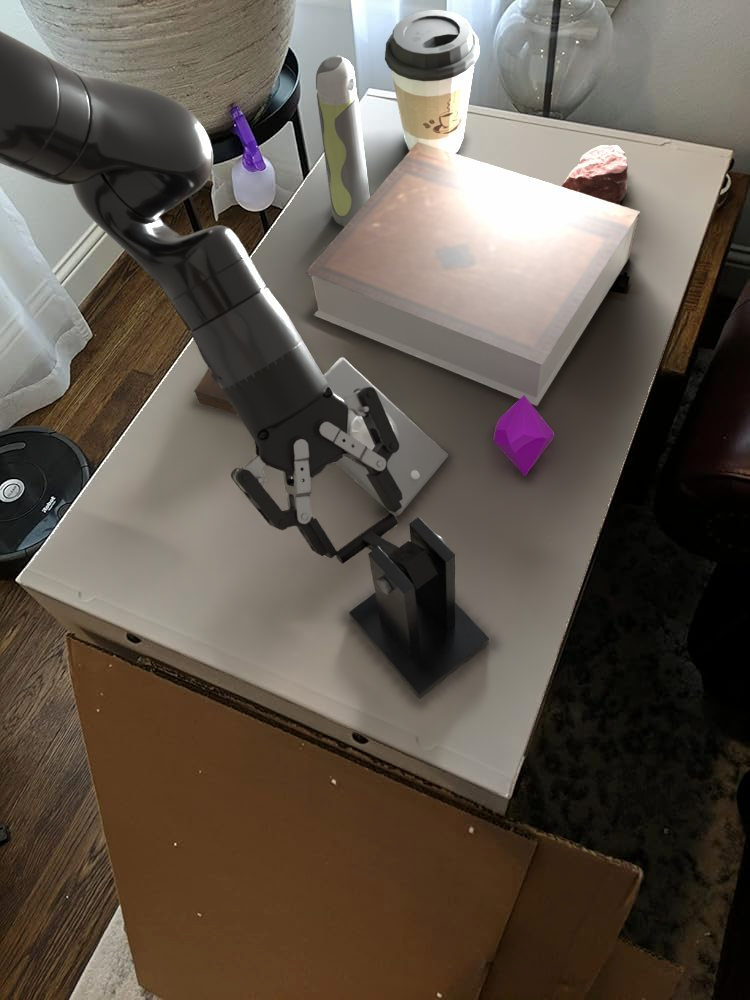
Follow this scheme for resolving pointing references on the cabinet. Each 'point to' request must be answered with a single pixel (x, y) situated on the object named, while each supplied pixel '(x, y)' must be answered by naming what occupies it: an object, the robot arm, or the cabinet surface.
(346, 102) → the grey and green cylinder
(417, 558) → the lever
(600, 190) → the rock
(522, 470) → the crystal
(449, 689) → the cabinet surface
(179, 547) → the cabinet surface
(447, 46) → the coffee cup
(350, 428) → the light switch
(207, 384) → the control block
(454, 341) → the book
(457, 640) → the bracket
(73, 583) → the cabinet surface
